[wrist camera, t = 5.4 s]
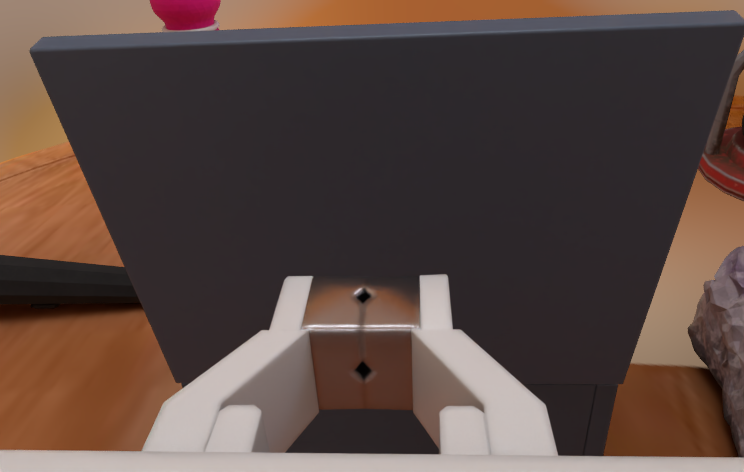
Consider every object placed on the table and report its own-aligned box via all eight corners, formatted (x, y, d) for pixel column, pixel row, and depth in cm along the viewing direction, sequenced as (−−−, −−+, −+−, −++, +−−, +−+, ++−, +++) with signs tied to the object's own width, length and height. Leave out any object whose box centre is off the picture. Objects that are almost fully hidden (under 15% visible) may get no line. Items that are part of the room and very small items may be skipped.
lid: (41, 35, 15) (26, 49, 15) (735, 8, 14) (750, 22, 14) (181, 366, 24) (175, 383, 24) (617, 367, 23) (623, 385, 22)
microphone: (223, 314, 46) (-58, 303, 45) (224, 239, 45) (-65, 225, 44) (208, 344, 41) (-111, 331, 40) (209, 259, 40) (-121, 243, 38)
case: (271, 335, 39) (251, 221, 35) (538, 335, 38) (552, 217, 34) (218, 516, 28) (180, 383, 24) (589, 523, 27) (618, 384, 23)
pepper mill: (251, 174, 60) (213, -54, 50) (175, 181, 59) (121, -47, 49) (254, 145, 66) (221, -63, 56) (185, 151, 66) (139, -57, 55)
